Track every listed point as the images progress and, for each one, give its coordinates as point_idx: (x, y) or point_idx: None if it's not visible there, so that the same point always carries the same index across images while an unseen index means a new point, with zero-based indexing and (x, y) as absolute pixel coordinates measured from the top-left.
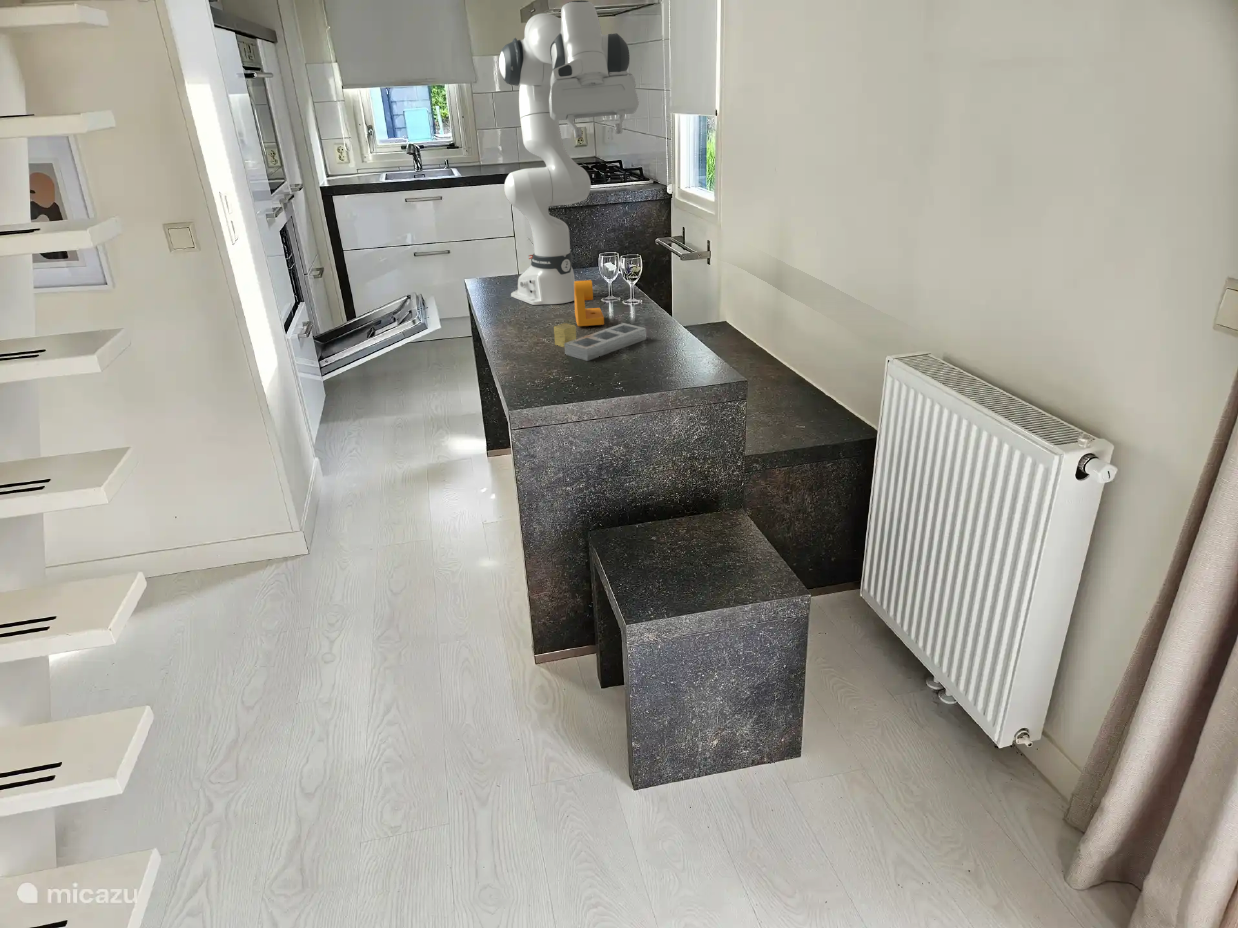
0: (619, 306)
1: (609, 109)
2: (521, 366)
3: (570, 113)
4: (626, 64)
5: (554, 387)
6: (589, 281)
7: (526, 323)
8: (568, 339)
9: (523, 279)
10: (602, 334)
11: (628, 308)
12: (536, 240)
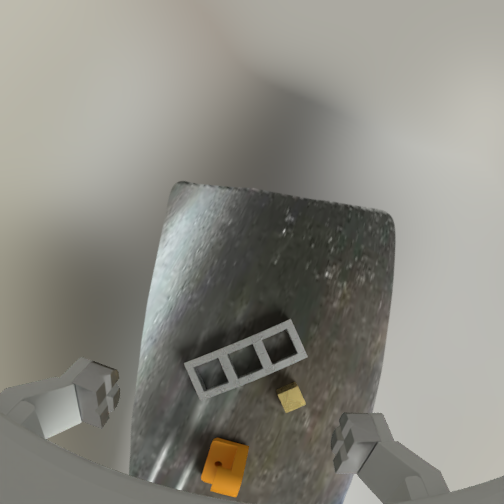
0: None
1: (73, 455)
2: (364, 336)
3: (447, 494)
4: None
5: (351, 253)
6: (216, 482)
7: (301, 490)
8: (290, 385)
9: None
10: (244, 376)
11: (155, 482)
12: None
